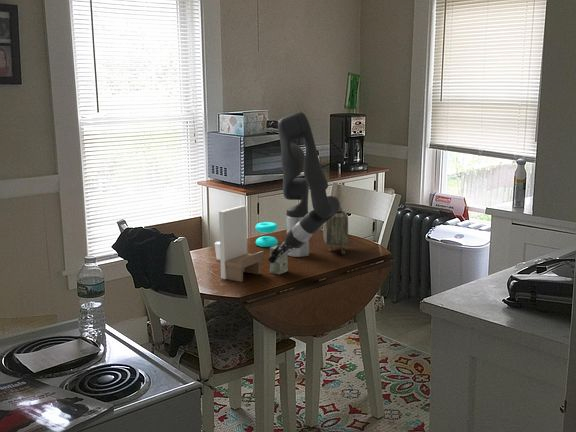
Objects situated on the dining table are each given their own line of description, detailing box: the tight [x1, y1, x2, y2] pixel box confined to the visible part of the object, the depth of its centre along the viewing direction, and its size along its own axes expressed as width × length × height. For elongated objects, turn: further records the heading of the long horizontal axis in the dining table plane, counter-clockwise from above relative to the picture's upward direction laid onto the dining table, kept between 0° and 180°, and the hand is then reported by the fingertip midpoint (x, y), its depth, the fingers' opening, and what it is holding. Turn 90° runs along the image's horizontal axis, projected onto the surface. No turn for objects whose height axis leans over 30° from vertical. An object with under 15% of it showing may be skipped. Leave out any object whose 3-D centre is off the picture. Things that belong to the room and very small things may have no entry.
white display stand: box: [218, 205, 265, 283], centre depth 240 cm, size 10×14×26 cm
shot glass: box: [214, 240, 220, 261], centre depth 267 cm, size 7×7×7 cm
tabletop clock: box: [322, 194, 349, 255], centre depth 275 cm, size 14×9×25 cm, turn 4°
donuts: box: [255, 221, 279, 248], centre depth 288 cm, size 10×10×10 cm
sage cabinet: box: [269, 244, 289, 275], centre depth 247 cm, size 6×6×10 cm
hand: (274, 259), depth 248 cm, fingers closed on sage cabinet, 5 cm apart
